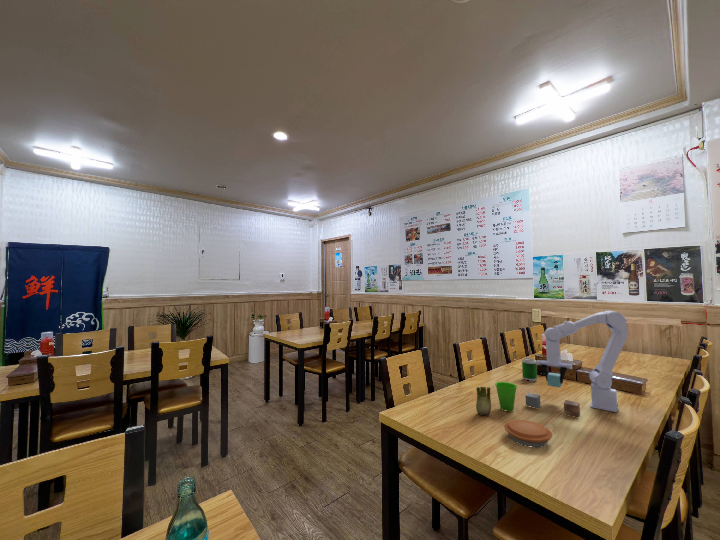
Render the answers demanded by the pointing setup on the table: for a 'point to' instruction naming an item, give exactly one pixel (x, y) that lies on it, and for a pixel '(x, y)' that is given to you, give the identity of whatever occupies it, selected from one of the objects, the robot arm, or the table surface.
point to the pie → (528, 433)
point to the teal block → (553, 379)
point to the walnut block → (571, 408)
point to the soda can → (529, 369)
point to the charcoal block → (532, 400)
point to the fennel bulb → (483, 401)
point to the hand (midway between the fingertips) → (554, 382)
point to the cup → (506, 395)
